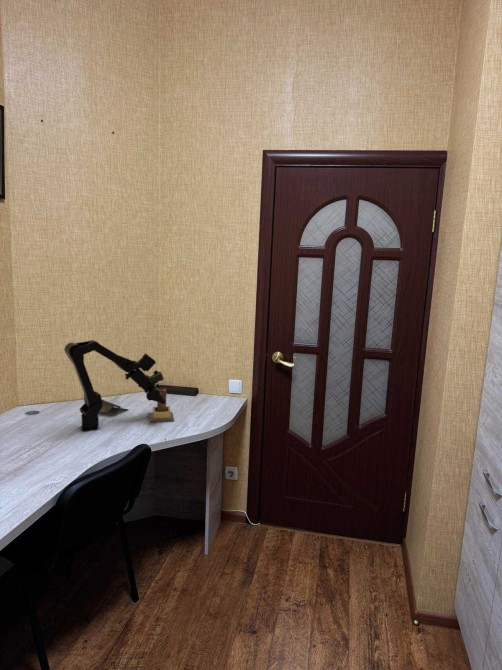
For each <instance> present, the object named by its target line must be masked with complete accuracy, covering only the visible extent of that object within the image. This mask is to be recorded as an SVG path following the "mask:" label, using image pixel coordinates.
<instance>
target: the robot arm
mask: <svg viewBox="0 0 502 670" xmlns="http://www.w3.org/2000/svg"><path fill="white" fill-rule="evenodd" d="M91 352H96V353H98V354H99V355H101V356H102V357H104V358H106V359H108V360H110V361H111V362H113V364H114V365H116V366H117V367H118V368H119V369H120V370H122V371H123V372H126V373H124V375H125V376H124V377H125V380H129V379H131V380H132V381H134V382H135V383H136V385H137V387H138V388H141V389H142V390H143V391H144V393H145V396H146V399H147V401H153V402H156V403H157V402H159V403H162V404H165V403H166V404H167V401H166V402H165V400H164V399H163V398H162V396H161V395H160V390H159V389H160V388H159V382H160V381H164V380H165V379H164V378H165V377H164V376H163V373H162V372H161V371H158V370H154V371H153V374H152V375H150V376H149V375H148V374H145V372H149V371H150V370H151V369H152V367H154V365H156V363H157V362H156V360H155V359H154V358H152V357H151V356H150V355H149V354H148V353H144V354H143V355H142V357H141V358H140V359H139V360H138V361H137V360H132V359H129V358H127V357H125V356H121V355H120V354H119V355H118V354H117V353H115V352H113V351H112V350H110V349H108V348H107V347H105V346H104V345H102V344H101V343H99V341H96V340H94V339H92V340H87V341H80V342H69V343H66V345H65V347H64V353H65V354H66V357H68V359H69V361H70V362H71V363H72V364H73V367H74V370H75V373H76V375H77V378H78V380H79V383H80V386H81V389H82V391H83V401H84V403H83V404H82V406H81V407H80V408H79V411H80V413H81V415H80V417H81V425H80V427H81V431H82V432H86V431H87V432H88V431H96V430H99V426H100V425H99V424H100V423H99V420H100V419H99V413H100V412H101V411H100V410H101V409H102V407H103V405H102V403H103V401H102V400H103V399H102V396H101V394H100V392H98V391H96V390H94V387H93V384H92V381H91V379H90V376H89V373H88V370H87V368H86V365H85V362H84V361H85V356H84V355H87V354H89V353H91Z"/></svg>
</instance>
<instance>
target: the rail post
mask: <svg viewBox="0 0 502 670" xmlns="http://www.w3.org/2000/svg"><path fill="white" fill-rule="evenodd" d="M159 390H160V395H161V396H162V398H163V399H164V400H165V402H166V403H165V404H162V403H159V402H156V405H157V406H156V407H157V411H166V406H167V388H159Z"/></svg>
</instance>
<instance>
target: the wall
mask: <svg viewBox="0 0 502 670" xmlns="http://www.w3.org/2000/svg"><path fill="white" fill-rule="evenodd" d="M102 401H103V403H102V405H103V407H102V409H101V410H100V411H99V412H101V413H104V414H108V413H109V411H110V410H111V409H112V408H113V407H115V408H117V409H121V408H122V406H120V405H117V404H115V403H112V402H111V401H107V400H104V399H102ZM127 410H130V409H128V408H127Z"/></svg>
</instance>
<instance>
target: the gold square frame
mask: <svg viewBox="0 0 502 670" xmlns="http://www.w3.org/2000/svg"><path fill="white" fill-rule="evenodd" d="M170 422H173V423H174V422H175V417H174V413H173V411H171V405H169V406H168V405H166V411H157V406H152V412H149V423H170Z"/></svg>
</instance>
